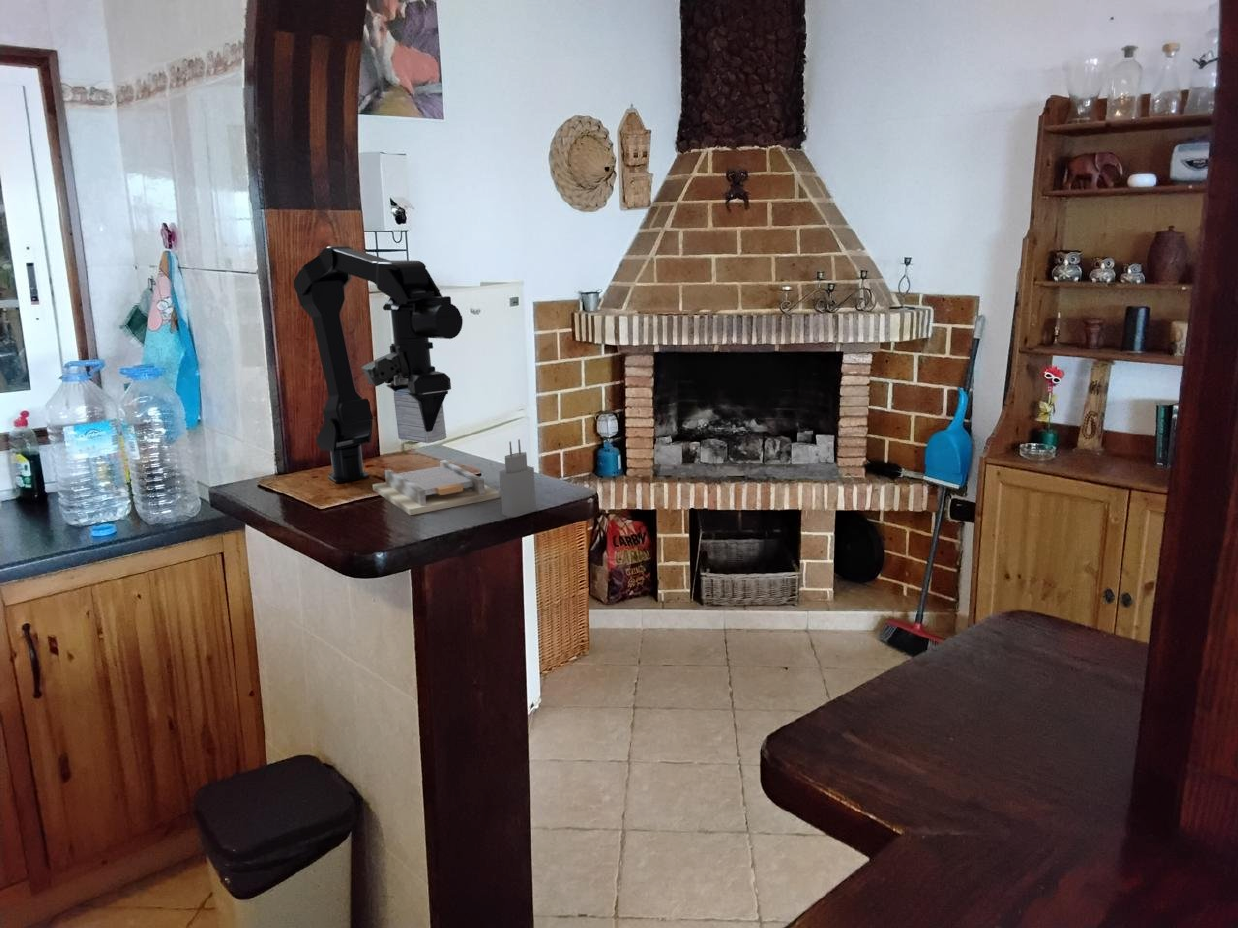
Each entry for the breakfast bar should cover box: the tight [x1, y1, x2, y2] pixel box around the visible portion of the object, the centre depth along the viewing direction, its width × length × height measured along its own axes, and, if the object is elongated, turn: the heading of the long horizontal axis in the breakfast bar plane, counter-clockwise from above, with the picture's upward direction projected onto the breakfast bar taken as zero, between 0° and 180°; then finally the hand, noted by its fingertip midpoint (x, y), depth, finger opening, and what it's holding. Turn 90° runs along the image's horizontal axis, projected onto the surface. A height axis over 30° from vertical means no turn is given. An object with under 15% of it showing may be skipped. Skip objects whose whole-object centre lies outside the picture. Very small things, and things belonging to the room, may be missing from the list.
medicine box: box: [393, 388, 447, 444], centre depth 160 cm, size 8×4×9 cm, turn 51°
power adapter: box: [499, 439, 537, 518], centre depth 149 cm, size 3×5×12 cm, turn 136°
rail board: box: [372, 459, 501, 516], centre depth 163 cm, size 20×16×4 cm
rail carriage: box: [397, 465, 473, 495], centre depth 162 cm, size 16×9×1 cm, turn 32°
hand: (420, 427), depth 160 cm, fingers closed on medicine box, 9 cm apart
